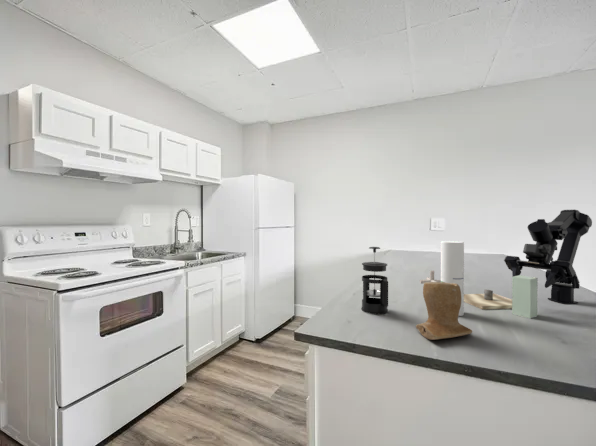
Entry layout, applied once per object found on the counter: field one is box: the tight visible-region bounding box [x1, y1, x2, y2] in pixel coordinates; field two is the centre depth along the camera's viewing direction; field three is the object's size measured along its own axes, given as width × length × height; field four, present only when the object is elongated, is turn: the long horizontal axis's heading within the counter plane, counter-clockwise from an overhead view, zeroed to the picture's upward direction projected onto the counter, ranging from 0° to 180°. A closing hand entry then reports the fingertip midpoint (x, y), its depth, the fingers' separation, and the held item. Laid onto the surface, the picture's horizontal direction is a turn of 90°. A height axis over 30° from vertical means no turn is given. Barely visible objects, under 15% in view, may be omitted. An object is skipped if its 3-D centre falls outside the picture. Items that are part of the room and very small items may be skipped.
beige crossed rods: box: [419, 269, 441, 285], centre depth 126 cm, size 10×10×10 cm
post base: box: [464, 289, 512, 310], centre depth 112 cm, size 18×16×5 cm
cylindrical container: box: [440, 240, 465, 317], centre depth 99 cm, size 7×7×25 cm
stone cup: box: [415, 282, 473, 341], centre depth 81 cm, size 15×12×15 cm
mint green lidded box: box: [511, 274, 539, 320], centre depth 97 cm, size 5×5×13 cm
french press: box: [361, 246, 389, 315], centre depth 102 cm, size 12×9×23 cm
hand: (529, 284), depth 98 cm, fingers open, 9 cm apart
